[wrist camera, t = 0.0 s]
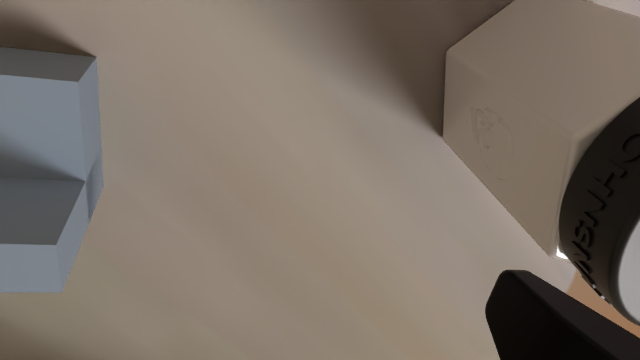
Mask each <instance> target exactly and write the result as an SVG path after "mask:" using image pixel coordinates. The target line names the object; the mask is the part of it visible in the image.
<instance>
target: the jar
mask: <svg viewBox="0 0 640 360" xmlns="http://www.w3.org/2000/svg"><path fill="white" fill-rule="evenodd" d="M443 140H444V141H445V143H446V144H447V145H448V146H449V147H450V148H451V149H452V150H453V151H454V152H455V154H456V155H457V156H458V157H459V158H460V159H461V160H462V161H463V162H464V163H465V165H466V166H467V167H468V168H469V169H470V170H471V171H472V172H473V173H474V174H475V176H476V177H477V178H478V179H479V180H480V181H481V182H482V183H483V184H484V185H485V186H486V188H487V189H488V190H489V191H490V192H491V193H492V194H493V195H494V196H495V197H496V199H497V200H498V201H499V202H500V203H501V204H502V205H503V206H504V207H505V208H506V210H507V211H508V212H509V213H510V214H511V215H512V216H513V217H514V218H515V219H516V221H517V222H518V223H519V224H520V225H521V226H522V227H523V228H524V229H525V230H526V232H527V233H528V234H529V235H530V236H531V237H532V238H533V239H534V240H535V241H536V243H537V244H538V245H539V246H540V247H541V248H542V249H543V250H544V251H545V252H546V254H547V255H548V256H550V257H551V258H554V259H558V260H561V261H565V262H568V263H572V264H573V265H574V266H575V267H576V268H577V269H578V270H579V271H580V273H581V275H582V278H583V279H584V280H585V281H586V282H587V283H588V284H589V285H590V286H591V287H592V288H593V289H594V290H595V291H596V293H597V294H598V295H599V296H600V297H601V298H602V299H604V300H606V301H607V302H608V303H609V304H610V305H612V306H613V307H614V308H615V309H616V310H617V311H618V312H619V313H620V314H621V315H623V316H624V317H625V318H626V319H628V320H629V321H631V322H633V323H634V324H637V325H639V326H640V17H639V16H635V15H632V14H628V13H625V12H622V11H618V10H615V9H611V8H608V7H605V6H601V5H598V4H594V3H591V2H588V1H584V0H514V1H513V2H512V3H510V4H509V5H508V6H506V7H505V8H503V9H502V10H501V11H499V12H498V13H497V14H495V15H494V16H493V17H491V18H490V19H489V20H487V21H486V22H485V23H483V24H482V25H480V26H479V27H478V28H476V29H475V30H474V31H472V32H471V33H470V34H468V35H467V36H466V37H464V38H463V39H461V40H460V41H459V42H457V43H456V44H455V45H453V46H452V47H451V48H449V49H448V50H447V52H446V69H445V93H444V118H443Z"/></svg>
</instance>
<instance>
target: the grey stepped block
mask: <svg viewBox="0 0 640 360" xmlns="http://www.w3.org/2000/svg"><path fill="white" fill-rule="evenodd" d="M103 186H104V185H103V167H102V148H101V130H100V111H99V93H98V74H97V57H90V56H81V55H72V54H62V53H53V52H44V51H35V50H26V49H17V48H8V47H0V292H53V293H62V290H63V288H64V285H65V283H66V280H67V278H68V275H69V273H70V270H71V267H72V265H73V262H74V260H75V257H76V255H77V252H78V250H79V247H80V244H81V242H82V239H83V237H84V234H85V232H86V229H87V227H88V224H89V221H90V219H91V216H92V214H93V211H94V209H95V206H96V204H97V201H98V198H99V196H100V193H101V191H102V188H103Z"/></svg>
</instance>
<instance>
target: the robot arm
mask: <svg viewBox="0 0 640 360" xmlns="http://www.w3.org/2000/svg"><path fill="white" fill-rule="evenodd" d="M485 314H486V319H487V322H488V325H489V328H490V331H491V334H492V337H493V340H494V343H495V345H496V348H497V351H498V354H499V357H500V360H640V338H638V337H637V336H635V335H634V334H632V333H630V332H629V331H627V330H625V329H624V328H622V327H620V326H619V325H617V324H615V323H613V322H612V321H610V320H609V319H607V318H605V317H604V316H602V315H600V314H599V313H597V312H595V311H594V310H592V309H590V308H589V307H587V306H585V305H584V304H582V303H580V302H579V301H577V300H575V299H574V298H572V297H570V296H569V295H567V294H566V293H564V292H562V291H561V290H559V289H557V288H556V287H554V286H552V285H551V284H549V283H547V282H546V281H544V280H542V279H541V278H539V277H537V276H536V275H534V274H532V273H531V272H529V271H526V270H505V271H503V272H502V273H501V274H500V275H499V277H498V279H497V281H496V283H495V286H494V288H493V290H492V292H491V294H490V297H489V299H488V301H487V304H486V308H485Z"/></svg>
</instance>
